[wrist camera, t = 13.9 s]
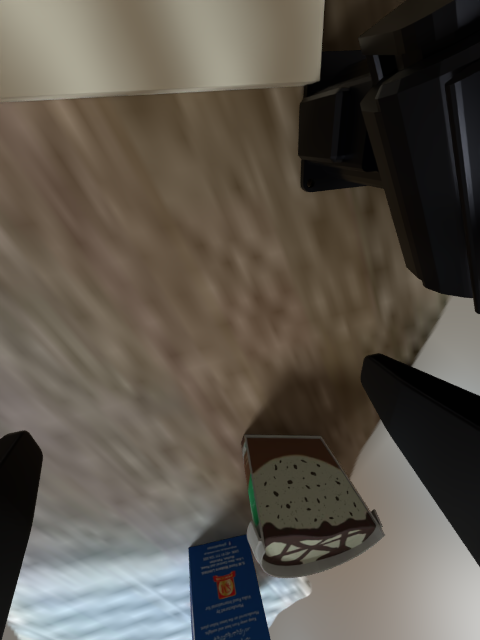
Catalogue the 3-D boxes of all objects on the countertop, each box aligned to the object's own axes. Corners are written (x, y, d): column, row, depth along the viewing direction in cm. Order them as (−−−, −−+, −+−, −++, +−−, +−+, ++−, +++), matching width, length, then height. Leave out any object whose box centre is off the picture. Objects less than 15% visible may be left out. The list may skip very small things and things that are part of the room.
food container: (213, 473, 32) (232, 591, 23) (229, 434, 29) (257, 552, 21) (310, 470, 36) (355, 569, 28) (332, 436, 33) (390, 534, 25)
